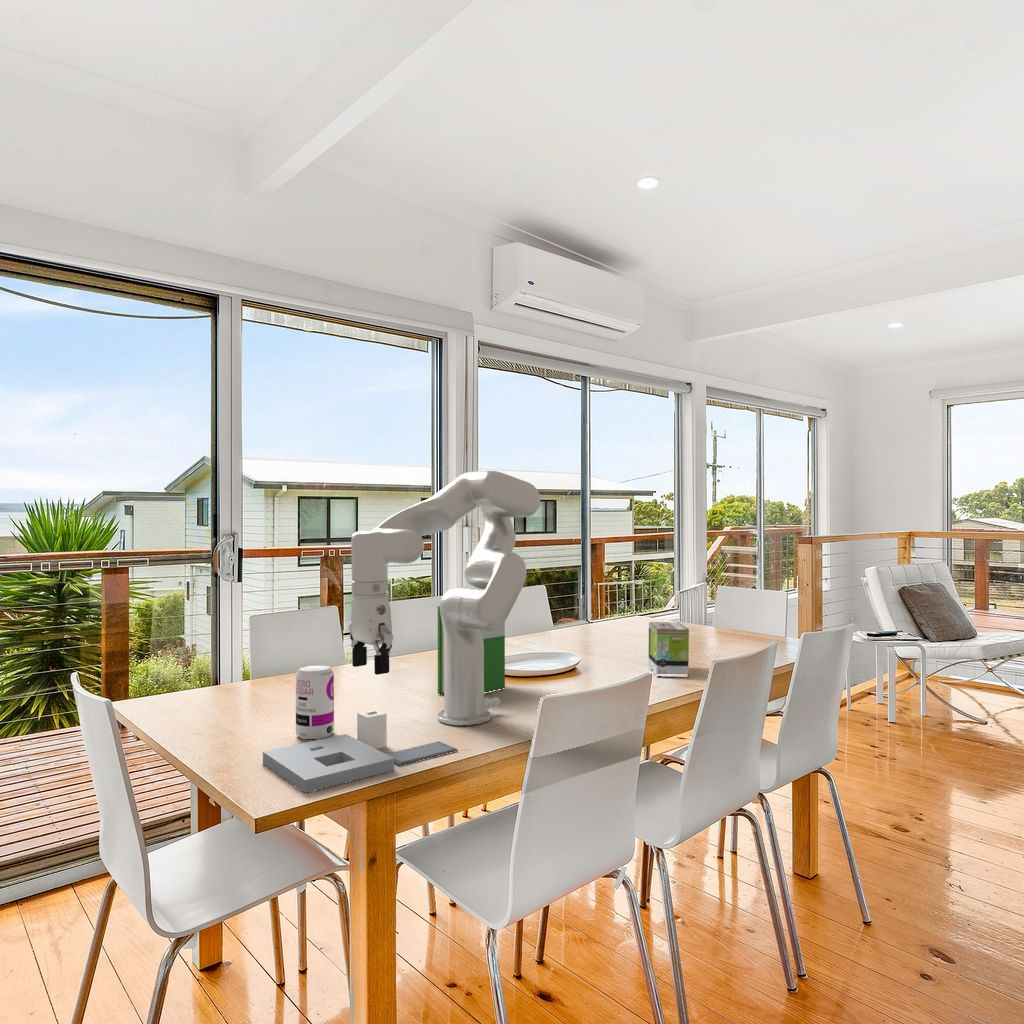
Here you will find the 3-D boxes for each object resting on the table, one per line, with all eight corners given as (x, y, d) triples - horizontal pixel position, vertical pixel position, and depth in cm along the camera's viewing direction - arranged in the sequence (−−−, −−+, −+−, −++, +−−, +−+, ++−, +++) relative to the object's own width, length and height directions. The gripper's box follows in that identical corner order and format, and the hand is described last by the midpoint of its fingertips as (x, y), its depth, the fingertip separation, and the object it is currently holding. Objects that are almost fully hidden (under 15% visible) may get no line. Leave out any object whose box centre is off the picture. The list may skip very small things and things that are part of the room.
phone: (438, 746, 159) (438, 740, 159) (457, 754, 153) (457, 748, 153) (381, 760, 150) (381, 754, 150) (399, 769, 145) (399, 763, 145)
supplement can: (337, 729, 169) (337, 663, 169) (329, 740, 161) (329, 671, 161) (301, 729, 169) (301, 664, 169) (291, 741, 160) (291, 672, 160)
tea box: (689, 678, 220) (689, 628, 220) (655, 677, 220) (655, 628, 220) (679, 667, 235) (679, 620, 235) (647, 667, 235) (647, 620, 235)
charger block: (376, 741, 160) (376, 708, 160) (386, 746, 157) (386, 712, 157) (357, 745, 157) (357, 712, 157) (367, 751, 154) (367, 716, 154)
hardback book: (454, 700, 195) (454, 609, 195) (437, 694, 200) (437, 606, 200) (504, 689, 207) (504, 603, 206) (488, 684, 212) (487, 601, 212)
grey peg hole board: (346, 745, 158) (346, 733, 158) (394, 770, 142) (394, 757, 142) (262, 763, 146) (262, 750, 146) (305, 793, 131) (305, 779, 131)
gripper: (406, 591, 152) (407, 674, 153) (366, 584, 166) (366, 660, 166) (373, 594, 148) (374, 679, 148) (335, 587, 161) (336, 665, 161)
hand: (370, 669), depth 157 cm, fingers open, 9 cm apart
